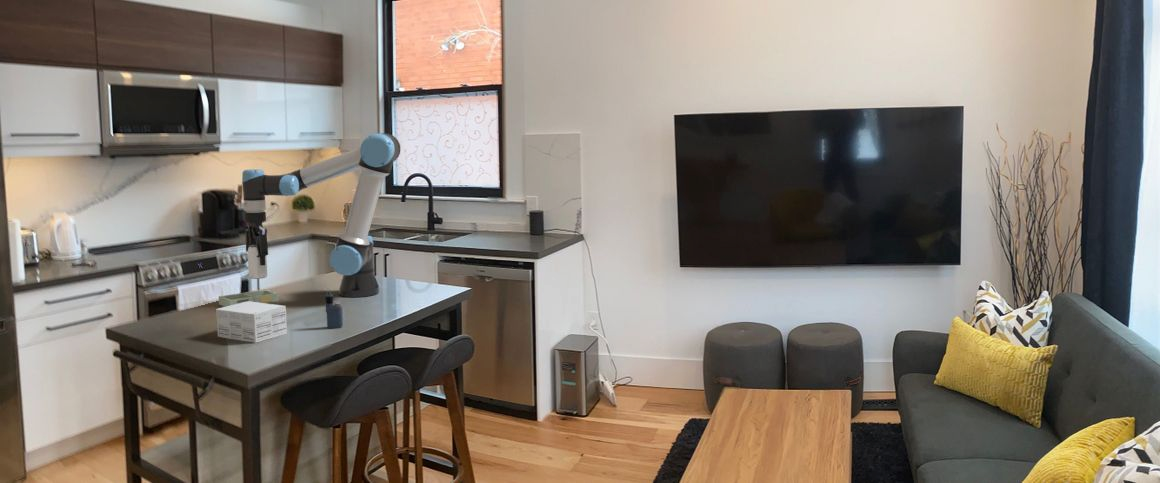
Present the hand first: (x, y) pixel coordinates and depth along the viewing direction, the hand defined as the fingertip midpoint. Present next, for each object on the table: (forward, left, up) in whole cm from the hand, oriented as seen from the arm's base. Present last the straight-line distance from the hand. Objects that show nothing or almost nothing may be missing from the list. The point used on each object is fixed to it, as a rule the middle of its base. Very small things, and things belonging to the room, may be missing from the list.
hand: (257, 272), depth 304 cm
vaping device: (-55, -1, -11) cm, 56 cm away
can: (0, 0, -2) cm, 2 cm away
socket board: (0, +4, -11) cm, 12 cm away
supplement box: (-45, +22, -11) cm, 52 cm away
